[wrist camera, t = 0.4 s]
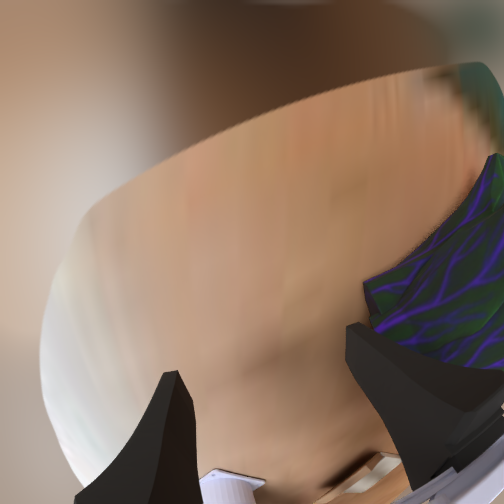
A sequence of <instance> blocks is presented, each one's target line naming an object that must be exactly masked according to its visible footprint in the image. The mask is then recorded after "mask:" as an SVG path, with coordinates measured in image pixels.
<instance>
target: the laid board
mask: <svg viewBox="0 0 504 504" xmlns="http://www.w3.org/2000/svg"><path fill="white" fill-rule="evenodd" d="M380 454H381V455H382V456H383V458H382V459H381V460H380V461H379V463H378V464H377V465H376V466H375V467H374V469H373V470H372V471H371V472H370V473H368V474H367V475H366V476H365V477H363V478H362V479H361V480H359V481H358V482H357V483H355V484H354V485H353V486H351V487H350V488H348V489H347V490H346V491H344V492H343V493H363V492H365V491H366V490H367V489H369V488H370V487H371V486H373V485H374V484H375V483H377V482H378V481H379V480H380V479H382V478H383V477H384V476H386V475H387V474H388V473H389V472H390V471H392V470H393V469H394V468H395V467H396V466H397V465H399V464H400V463H401V462H402V461H401V458H400V456H399V455H397V454H391V453H385V452H380Z"/></svg>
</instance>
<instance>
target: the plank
mask: <svg viewBox="0 0 504 504" xmlns="http://www.w3.org/2000/svg"><path fill="white" fill-rule="evenodd" d="M382 458H383V456H382V455H381V454H380V453H379V452H378V453H377V454H376V455H374V456H373V457H372V458H371V459H370V460H369V461H367V462H366V463H365V464H364V465H362V466H361V467H360V468H359V469H358V470H356V471H355V472H354V473H352V474H351V475H350V476H348V477H347V478H346V479H344V480H343V481H342V482H340V483H339V484H338V485H336V486H335V487H333V488H332V489H331V490H329V491H328V492H327V493H326V494H324V495H323V496H322V497H320V498H319V499H318V500H317V501H315V502H314V503H312V504H326V503H328V502H329V501H331V500H332V499H334V498H335V497H337V496H338V495H340V494H341V493H343V492H344V491H346V490H347V489H348V488H350V487H351V486H353V485H354V484H355V483H357V482H358V481H359V480H361V479H362V478H363V477H365V476H366V475H367V474H368V473H370V472H371V471H372V470H373V469H374V467H375V466H376V465H377V464H378V463H379V461H380V460H381V459H382Z"/></svg>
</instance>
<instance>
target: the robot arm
mask: <svg viewBox="0 0 504 504" xmlns="http://www.w3.org/2000/svg"><path fill="white" fill-rule="evenodd" d="M345 360H346V362H347V364H348V366H349V368H350V370H351V372H352V374H353V376H354V378H355V380H356V381H357V383H358V384H359V386H360V387H361V389H362V390H363V391H364V393H365V394H366V396H367V397H368V399H369V400H370V402H371V403H372V404H373V406H374V407H375V409H376V410H377V412H378V413H379V415H380V417H381V418H382V420H383V422H384V424H385V426H386V428H387V430H388V432H389V434H390V436H391V438H392V440H393V442H394V444H395V446H396V449H397V451H398V453H399V456H400V458H401V461H402V463H403V465H404V468H405V471H406V474H407V477H408V480H409V483H410V486H411V489H412V490H413V492H412V493H410V494H408V495H407V496H405V497H403V498H401V499H399V500H397V501H395V502H393V503H391V504H422V503H423V502H425V501H427V500H428V499H430V500H429V503H428V504H489V503H490V502H492V501H493V500H494V498H496V497H497V496H498V494H500V493H501V492H502V490H503V489H504V417H503V416H502V415H503V414H504V410H503V409H502V408H501V406H502V404H503V403H504V371H503V370H497V369H478V368H470V367H464V366H459V365H454V364H450V363H446V362H442V361H439V360H436V359H433V358H430V357H427V356H424V355H422V354H419V353H417V352H415V351H413V350H410V349H408V348H406V347H404V346H402V345H400V344H398V343H396V342H394V341H392V340H390V339H388V338H386V337H385V336H383V335H381V334H379V333H378V332H376V331H374V330H372V329H371V328H369V327H367V326H365V325H363V324H362V323H360V322H357V323H354V324H351V325H348V326H346V354H345ZM264 483H265V481H264V480H260V479H255V478H251V477H246V476H242V475H237V474H233V473H229V472H225V471H222V470H218V469H215V470H212V471H211V472H210V473H208V474H207V475H205V476H204V477H203V478H201V479H200V480H199V477H198V470H197V449H196V419H195V412H194V405H193V400H192V398H191V396H190V394H189V392H188V390H187V388H186V386H185V384H184V382H183V380H182V378H181V376H180V374H179V372H178V370H176V371H171V372H165V373H163V375H162V377H161V379H160V381H159V383H158V386H157V388H156V390H155V392H154V395H153V397H152V399H151V401H150V403H149V405H148V407H147V409H146V411H145V413H144V415H143V417H142V419H141V420H140V422H139V424H138V426H137V428H136V429H135V431H134V433H133V434H132V436H131V437H130V439H129V440H128V442H127V443H126V445H125V446H124V448H123V449H122V450H121V452H120V453H119V454H118V455H117V457H116V458H115V459H114V460H113V462H112V463H111V464H110V465H109V466H108V467H107V468H106V469H105V470H104V471H103V472H102V473H101V474H100V475H99V476H98V477H97V478H96V479H95V480H94V481H93V482H92V483H91V484H89V485H88V486H87V487H86V488H84V489H83V490H82V491H81V492H79V493H78V494H77V495H76V496H75V499H74V504H256V502H255V499H254V495H253V491H254V490H256V489H257V488H259V487H260V486H262V485H263V484H264Z"/></svg>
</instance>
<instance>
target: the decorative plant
mask: <svg viewBox="0 0 504 504" xmlns="http://www.w3.org/2000/svg"><path fill="white" fill-rule="evenodd" d="M363 285H364V292H365V299H366V302H367V305H368V308H369V311H370V315H371V317H369V319H370V322H371V324H372V327H373V329H374V331H376V332H378V333H379V334H381V335H383V336H385V337H386V338H388V339H390V340H392V341H394V342H396V343H398V344H400V345H402V346H404V347H406V348H408V349H410V350H413V351H415V352H417V353H419V354H422V355H424V356H427V357H430V358H433V359H436V360H439V361H442V362H446V363H450V364H454V365H459V366H464V367H470V368H478V369H497V370H503V371H504V156H502V155H500V154H498V153H495V154H493V155H490V156H488V158H487V161H486V163H485V166H484V168H483V170H482V172H481V174H480V176H479V178H478V179H477V181H476V183H475V184H474V186H473V188H472V190H471V191H470V193H469V195H468V196H467V198H466V199H465V200H464V201H463V203H462V204H461V205H460V206H459V207H458V209H457V210H456V211H455V212H454V213H453V214H452V215H451V216H450V217H449V218H448V219H447V220H446V221H445V222H444V223H443V224H442V225H441V226H440V227H439V228H438V229H437V230H436V231H435V232H434V233H433V234H432V235H431V236H430V237H429V238H427V239H426V240H425V241H424V242H423V243H422V244H421V245H420V246H419V247H418V248H417V249H416V250H415V251H414V252H412V253H411V254H410V255H409V256H408V257H407V258H405V259H404V260H403V261H402V262H401V263H400V264H398V265H397V266H396V267H394V268H392V269H390V270H388V271H386V272H384V273H382V274H380V275H378V276H375V277H373V278H371V279H369V280H367V281H364V282H363Z"/></svg>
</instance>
